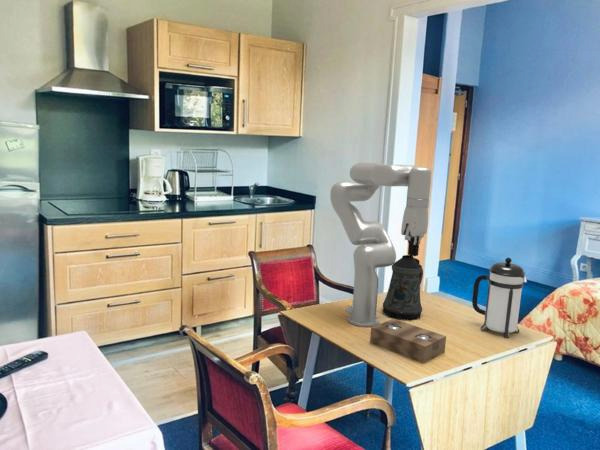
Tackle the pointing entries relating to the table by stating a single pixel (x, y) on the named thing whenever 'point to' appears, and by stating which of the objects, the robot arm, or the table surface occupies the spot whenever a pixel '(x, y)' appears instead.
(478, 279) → the coffee press
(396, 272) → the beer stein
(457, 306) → the table surface
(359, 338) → the table surface
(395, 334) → the walnut block
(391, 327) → the peg
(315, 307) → the table surface
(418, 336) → the peg
